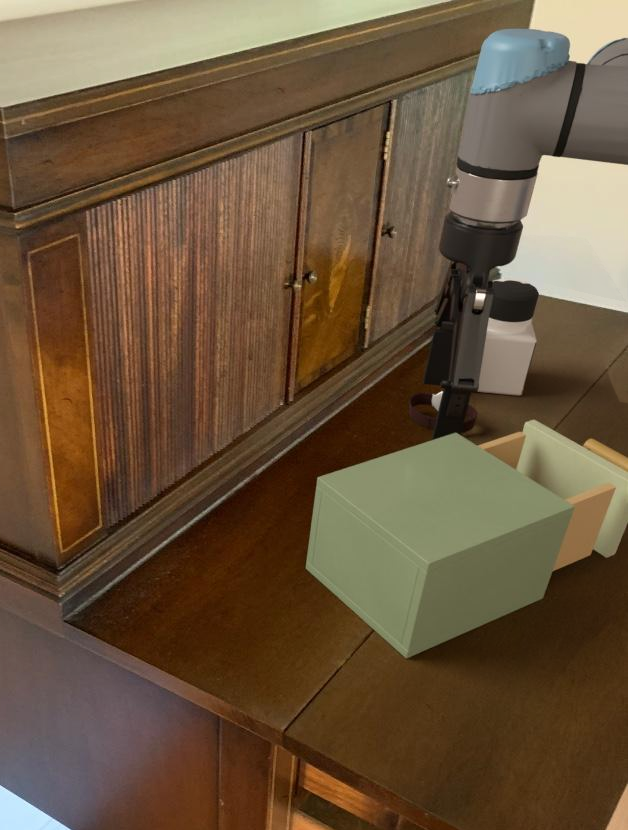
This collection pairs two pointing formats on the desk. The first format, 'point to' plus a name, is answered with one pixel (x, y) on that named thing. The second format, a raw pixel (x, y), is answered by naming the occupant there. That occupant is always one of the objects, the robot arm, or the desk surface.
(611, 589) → the desk surface
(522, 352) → the medicine bottle
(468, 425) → the watch
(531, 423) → the drawer
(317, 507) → the cabinet
